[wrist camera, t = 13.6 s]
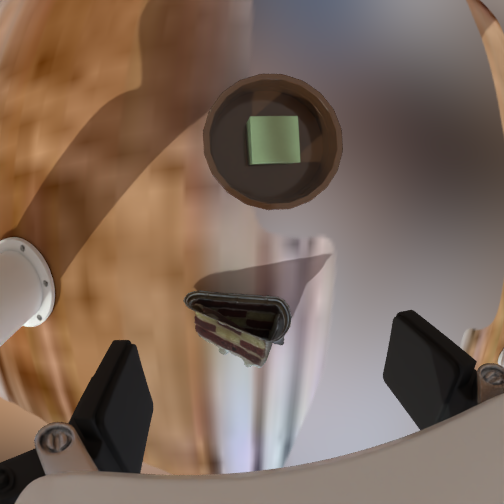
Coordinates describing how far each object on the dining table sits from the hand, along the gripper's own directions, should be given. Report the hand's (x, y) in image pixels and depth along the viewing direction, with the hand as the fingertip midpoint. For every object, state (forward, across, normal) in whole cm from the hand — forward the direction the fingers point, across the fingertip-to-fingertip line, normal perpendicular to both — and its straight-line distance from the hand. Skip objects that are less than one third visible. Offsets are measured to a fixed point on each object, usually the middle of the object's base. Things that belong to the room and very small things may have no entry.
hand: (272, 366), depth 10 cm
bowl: (+24, -4, -10) cm, 26 cm away
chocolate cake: (+24, +1, +11) cm, 27 cm away
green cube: (+24, -4, -10) cm, 26 cm away
